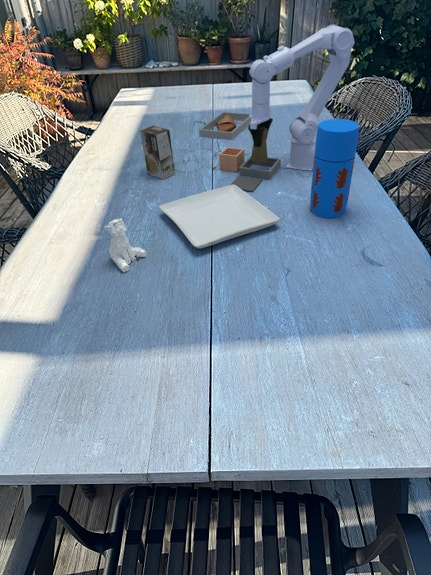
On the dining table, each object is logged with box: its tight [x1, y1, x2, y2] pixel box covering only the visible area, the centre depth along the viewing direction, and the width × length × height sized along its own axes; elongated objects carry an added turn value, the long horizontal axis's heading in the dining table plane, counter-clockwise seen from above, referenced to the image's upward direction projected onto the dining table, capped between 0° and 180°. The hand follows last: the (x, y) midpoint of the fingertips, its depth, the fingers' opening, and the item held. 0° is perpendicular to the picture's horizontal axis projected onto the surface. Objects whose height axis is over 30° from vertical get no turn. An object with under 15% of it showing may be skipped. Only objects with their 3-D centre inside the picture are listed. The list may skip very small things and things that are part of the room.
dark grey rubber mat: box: [229, 176, 263, 193], centre depth 140 cm, size 9×9×1 cm
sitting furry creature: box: [103, 217, 147, 273], centre depth 106 cm, size 10×9×12 cm
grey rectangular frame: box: [238, 155, 282, 181], centre depth 147 cm, size 12×12×3 cm
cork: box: [250, 128, 269, 163], centre depth 142 cm, size 6×6×11 cm
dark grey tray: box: [198, 111, 252, 141], centre depth 185 cm, size 16×26×3 cm, turn 155°
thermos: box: [309, 118, 360, 219], centre depth 116 cm, size 11×11×25 cm
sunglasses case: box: [216, 114, 237, 132], centre depth 185 cm, size 18×7×7 cm, turn 7°
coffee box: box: [139, 125, 176, 180], centre depth 147 cm, size 9×6×16 cm
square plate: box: [158, 184, 281, 249], centre depth 122 cm, size 27×27×4 cm
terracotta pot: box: [218, 146, 245, 173], centre depth 150 cm, size 7×7×6 cm
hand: (260, 143), depth 142 cm, fingers closed on cork, 5 cm apart
